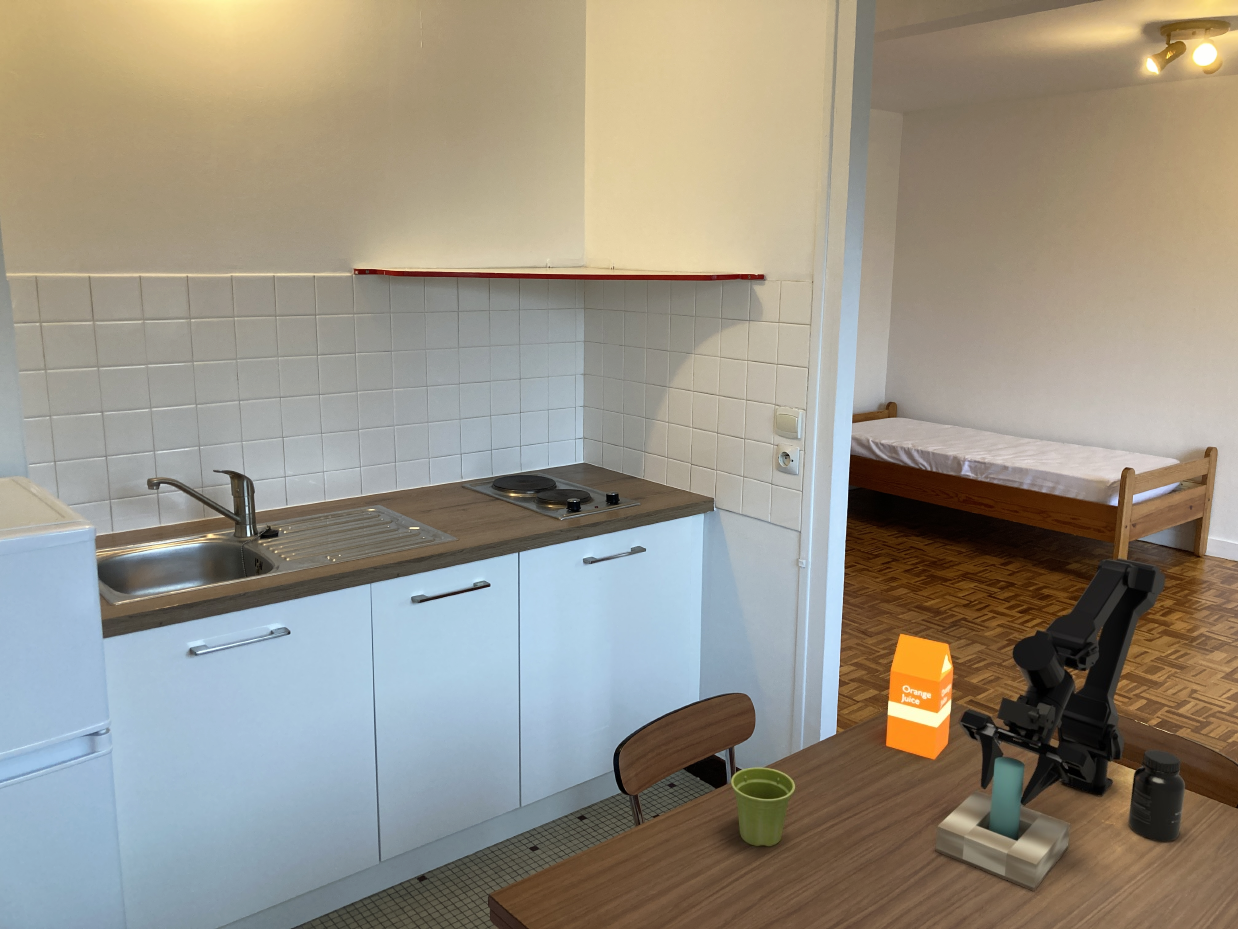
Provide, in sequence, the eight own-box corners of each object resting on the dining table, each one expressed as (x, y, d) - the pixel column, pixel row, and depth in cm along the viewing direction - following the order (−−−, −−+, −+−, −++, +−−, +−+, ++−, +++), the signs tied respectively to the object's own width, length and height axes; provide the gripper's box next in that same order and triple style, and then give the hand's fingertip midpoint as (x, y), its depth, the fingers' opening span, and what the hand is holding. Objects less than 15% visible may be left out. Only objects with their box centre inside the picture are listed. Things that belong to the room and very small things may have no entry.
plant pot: (805, 835, 145) (807, 782, 143) (769, 862, 138) (771, 806, 137) (753, 812, 151) (755, 761, 150) (716, 837, 145) (718, 783, 143)
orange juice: (900, 730, 180) (907, 627, 176) (948, 743, 175) (956, 638, 171) (885, 746, 174) (891, 640, 170) (934, 760, 169) (942, 651, 165)
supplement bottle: (1186, 845, 143) (1195, 770, 141) (1136, 840, 144) (1144, 765, 142) (1169, 820, 150) (1178, 748, 148) (1122, 815, 151) (1130, 744, 149)
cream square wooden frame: (974, 813, 151) (976, 790, 151) (1067, 848, 142) (1070, 823, 141) (935, 851, 141) (937, 826, 140) (1033, 891, 132) (1036, 864, 131)
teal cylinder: (987, 836, 144) (994, 755, 142) (1016, 842, 143) (1023, 759, 141) (988, 850, 140) (995, 767, 138) (1017, 856, 139) (1025, 771, 137)
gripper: (968, 658, 146) (925, 748, 141) (1095, 697, 133) (1052, 798, 128) (990, 693, 153) (949, 780, 148) (1113, 733, 139) (1073, 831, 134)
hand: (1002, 796), depth 139 cm, fingers open, 6 cm apart
